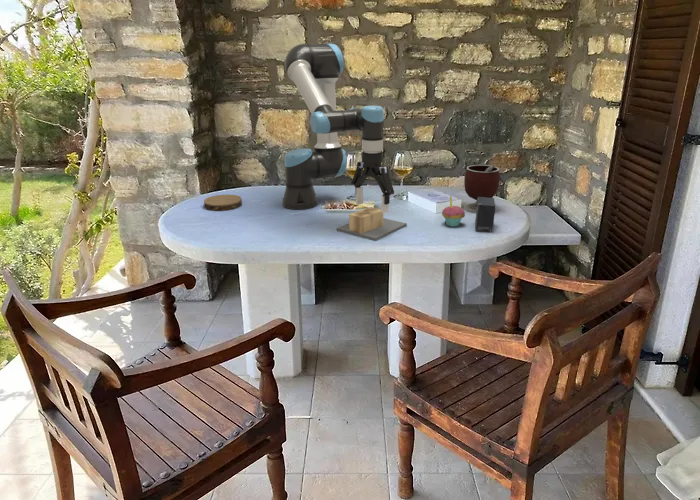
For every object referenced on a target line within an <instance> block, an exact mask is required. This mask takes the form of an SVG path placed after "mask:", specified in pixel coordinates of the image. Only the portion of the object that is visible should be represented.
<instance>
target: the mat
mask: <svg viewBox="0 0 700 500" xmlns="http://www.w3.org/2000/svg"><path fill="white" fill-rule="evenodd" d="M407 226H408V224H407V223H406V222H402V221H398V220H394V219H389V218H385V217H383V226H381V227H378V228H375V229H373V230H370V231H367V232H364V233H362V234H361V233H357V232H354V231H351V230H349V222H348V223H345V224H344V225H341V226H338V227H336V231H337V232H341V233H344V234H348V235H352V236H355V237H359V238H363V239H367V240H371V241H375V242H376V241H379V240H380V239H383V238H384V237H387V236H389V235H391V234H393V233H395V232H398V231H399V230H402V229H404V228H405V227H407Z"/></svg>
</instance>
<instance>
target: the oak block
mask: <svg viewBox="0 0 700 500" xmlns="http://www.w3.org/2000/svg"><path fill="white" fill-rule="evenodd" d="M381 212H382V209H379V208H377V207H373V206H371V207H368V208H365V209H362V210H358V211H356V212H352V213H349V214H348V216H349V217H348V218H349V219H348V223H349V230H351V231H354V232H357V233H361V234H362V233H364V232H367V231H370V230H373V229H375V228H378V227H381V226H383V218H384V213H381Z"/></svg>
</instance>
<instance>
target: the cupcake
mask: <svg viewBox="0 0 700 500" xmlns="http://www.w3.org/2000/svg"><path fill="white" fill-rule="evenodd" d="M441 212H442V213H441V216H442V217H443V218H444V220H445V225H446V226H447V227H458V226H459V225H460V223H461V221H462V219H463V218H464V217H465V215H466V212H465V209H463V208H462V207H460V206H457V205H453V200H452V196H451V194H450V195H449V206H446V207H444V208H443V209H442V211H441Z"/></svg>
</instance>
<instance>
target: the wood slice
mask: <svg viewBox="0 0 700 500" xmlns="http://www.w3.org/2000/svg"><path fill="white" fill-rule="evenodd" d="M242 199H243V198H242V197H241V195H237V194H217V195H212V196H208V197H206V198H205V199H204V200H203V204H204V209H205V208H206V209H205V210H207V211H212V212H227V211H232V210H236V209H239V208H241V207H242V206H243V201H242Z"/></svg>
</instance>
